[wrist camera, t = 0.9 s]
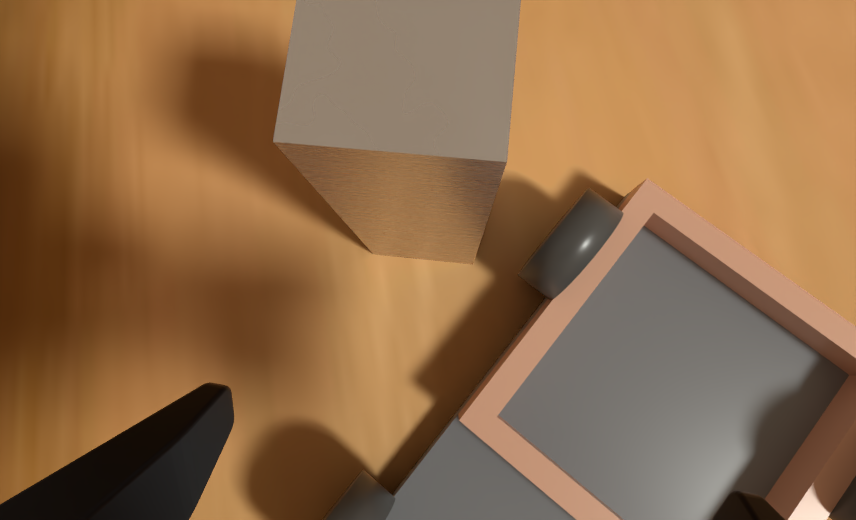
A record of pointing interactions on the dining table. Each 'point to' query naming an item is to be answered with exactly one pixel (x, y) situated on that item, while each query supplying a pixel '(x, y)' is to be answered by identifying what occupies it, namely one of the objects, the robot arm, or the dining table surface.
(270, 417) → the dining table surface
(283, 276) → the dining table surface
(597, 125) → the dining table surface
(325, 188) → the block
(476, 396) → the chassis
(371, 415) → the dining table surface
